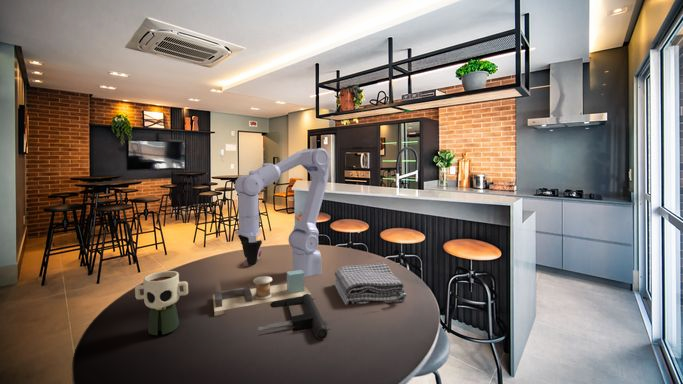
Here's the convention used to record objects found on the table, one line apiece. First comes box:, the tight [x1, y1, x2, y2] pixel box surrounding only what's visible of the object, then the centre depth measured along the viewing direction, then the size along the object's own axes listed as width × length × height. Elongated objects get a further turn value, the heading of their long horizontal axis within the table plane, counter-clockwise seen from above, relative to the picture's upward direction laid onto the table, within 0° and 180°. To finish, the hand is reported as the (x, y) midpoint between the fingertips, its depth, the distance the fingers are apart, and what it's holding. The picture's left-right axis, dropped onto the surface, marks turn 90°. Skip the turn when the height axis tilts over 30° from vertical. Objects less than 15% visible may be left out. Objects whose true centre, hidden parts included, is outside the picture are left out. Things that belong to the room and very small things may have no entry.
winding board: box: [212, 275, 313, 317], centre depth 89 cm, size 26×11×6 cm, turn 114°
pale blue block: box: [286, 270, 305, 294], centre depth 92 cm, size 4×3×6 cm, turn 114°
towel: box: [334, 262, 407, 305], centre depth 92 cm, size 15×18×8 cm
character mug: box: [134, 270, 189, 336], centre depth 72 cm, size 11×7×13 cm, turn 104°
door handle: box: [256, 294, 331, 340], centre depth 77 cm, size 3×20×16 cm
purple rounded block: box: [242, 247, 264, 268], centre depth 121 cm, size 10×5×7 cm, turn 179°
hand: (250, 260), depth 93 cm, fingers open, 7 cm apart
